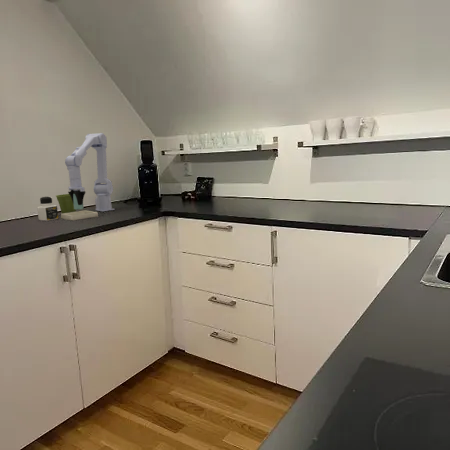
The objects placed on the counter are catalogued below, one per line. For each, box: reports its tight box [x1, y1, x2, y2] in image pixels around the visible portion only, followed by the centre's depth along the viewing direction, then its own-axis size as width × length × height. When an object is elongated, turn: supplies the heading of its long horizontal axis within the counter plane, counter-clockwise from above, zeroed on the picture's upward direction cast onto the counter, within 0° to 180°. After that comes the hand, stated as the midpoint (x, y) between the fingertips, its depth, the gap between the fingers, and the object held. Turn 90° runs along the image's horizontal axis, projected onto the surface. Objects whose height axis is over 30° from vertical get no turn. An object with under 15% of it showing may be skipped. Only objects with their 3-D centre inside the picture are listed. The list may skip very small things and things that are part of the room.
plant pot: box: [55, 193, 77, 214], centre depth 249 cm, size 12×12×11 cm
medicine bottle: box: [36, 196, 59, 222], centre depth 235 cm, size 7×7×12 cm
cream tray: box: [60, 210, 99, 222], centre depth 236 cm, size 14×14×2 cm
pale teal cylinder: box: [73, 194, 84, 210], centre depth 235 cm, size 5×5×8 cm
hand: (78, 204), depth 235 cm, fingers closed on pale teal cylinder, 5 cm apart
